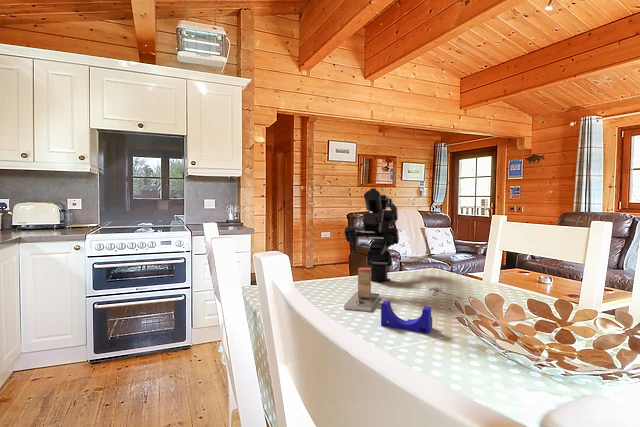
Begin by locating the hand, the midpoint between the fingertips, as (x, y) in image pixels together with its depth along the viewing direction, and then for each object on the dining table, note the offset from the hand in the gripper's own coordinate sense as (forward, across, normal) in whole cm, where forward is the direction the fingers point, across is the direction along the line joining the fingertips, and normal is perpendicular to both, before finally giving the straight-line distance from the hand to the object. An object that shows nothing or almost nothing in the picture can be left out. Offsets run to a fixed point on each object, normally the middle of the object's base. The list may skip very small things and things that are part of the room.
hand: (367, 253), depth 124 cm
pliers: (+3, +23, +18) cm, 29 cm away
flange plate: (+17, +1, +3) cm, 17 cm away
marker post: (+14, +1, +4) cm, 15 cm away
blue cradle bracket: (+30, +16, -8) cm, 35 cm away
